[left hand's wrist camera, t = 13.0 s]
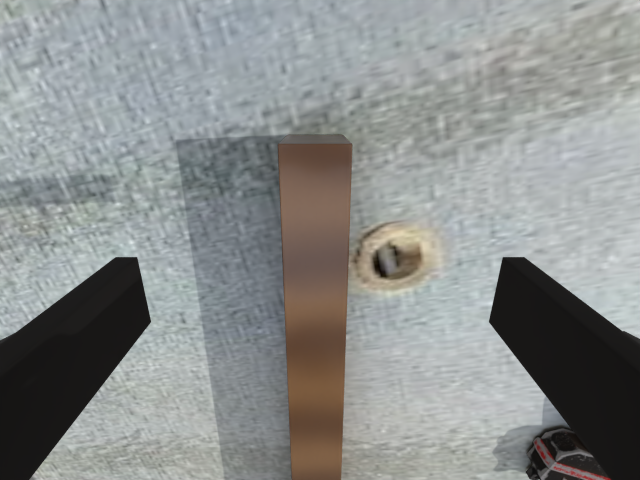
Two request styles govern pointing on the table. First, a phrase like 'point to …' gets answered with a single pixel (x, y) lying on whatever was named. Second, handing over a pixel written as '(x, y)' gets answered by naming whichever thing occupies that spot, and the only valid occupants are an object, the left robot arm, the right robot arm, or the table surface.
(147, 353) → the table surface
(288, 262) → the beam
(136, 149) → the table surface
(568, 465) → the gun
